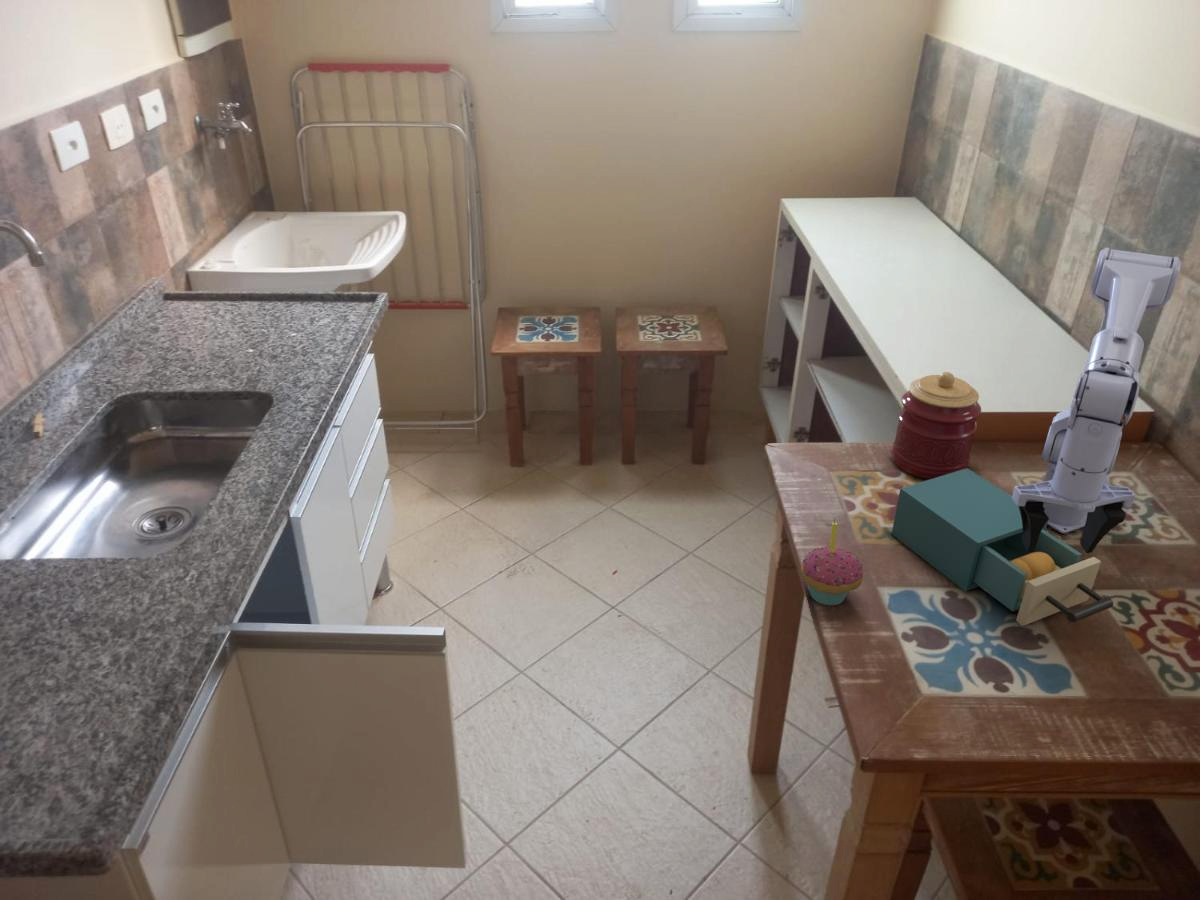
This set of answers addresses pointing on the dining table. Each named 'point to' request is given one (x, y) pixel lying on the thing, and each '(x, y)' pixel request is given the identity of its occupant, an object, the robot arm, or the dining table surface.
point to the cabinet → (955, 521)
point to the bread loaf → (1035, 566)
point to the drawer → (1039, 579)
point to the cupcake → (831, 572)
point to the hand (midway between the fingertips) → (1056, 548)
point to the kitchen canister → (936, 426)
